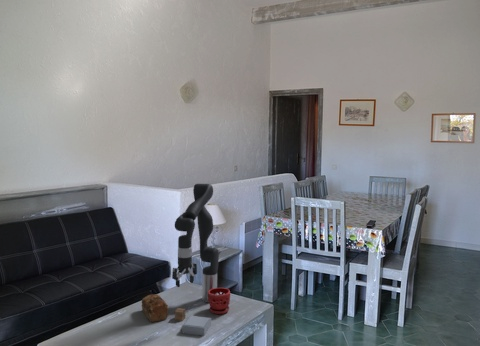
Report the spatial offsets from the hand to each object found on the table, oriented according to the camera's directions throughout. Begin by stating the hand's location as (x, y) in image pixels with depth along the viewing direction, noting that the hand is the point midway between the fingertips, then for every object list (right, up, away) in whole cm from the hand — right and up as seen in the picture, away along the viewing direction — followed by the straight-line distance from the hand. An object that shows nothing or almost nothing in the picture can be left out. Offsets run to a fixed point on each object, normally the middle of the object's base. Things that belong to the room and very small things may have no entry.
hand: (184, 284), depth 209 cm
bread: (-19, -21, +14) cm, 32 cm away
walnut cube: (-4, -22, +9) cm, 24 cm away
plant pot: (+17, -22, +21) cm, 34 cm away
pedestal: (+7, -23, -3) cm, 24 cm away
